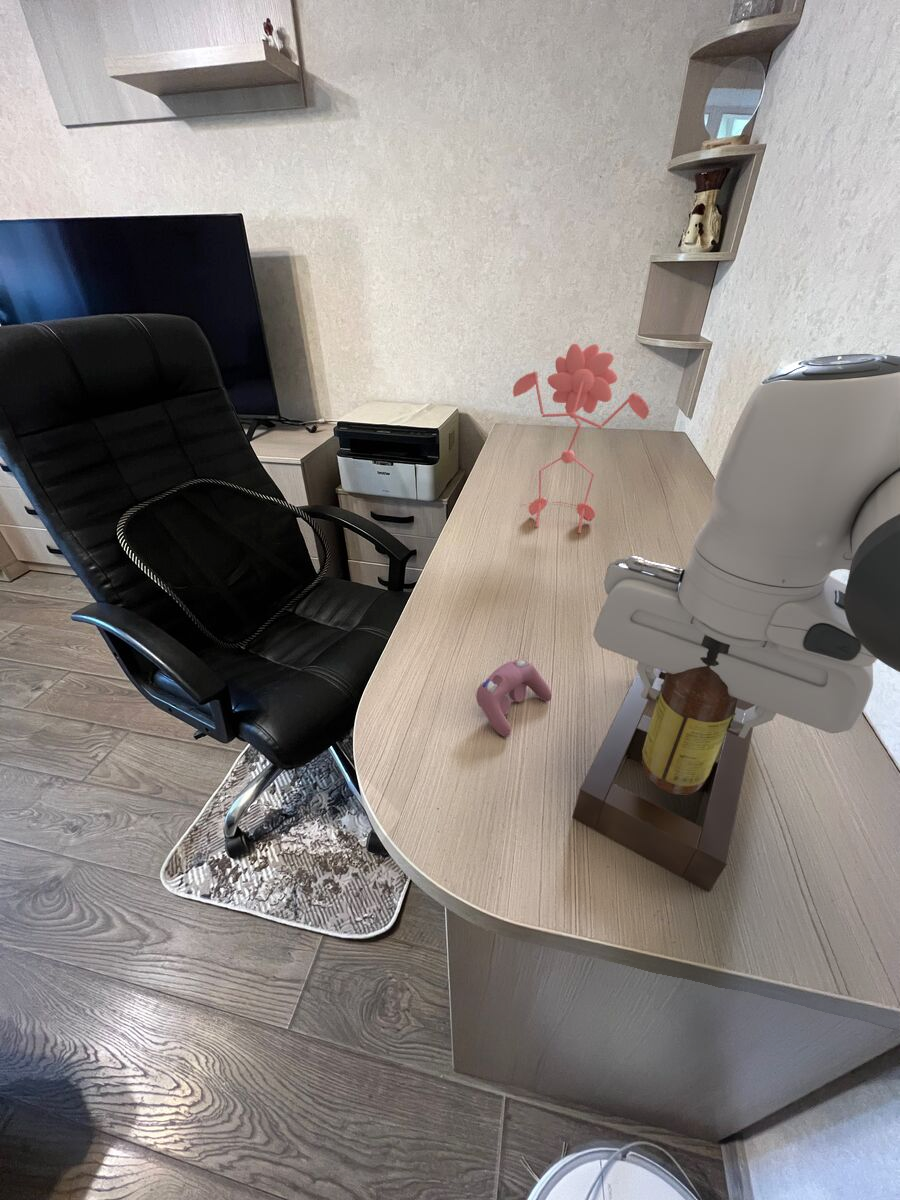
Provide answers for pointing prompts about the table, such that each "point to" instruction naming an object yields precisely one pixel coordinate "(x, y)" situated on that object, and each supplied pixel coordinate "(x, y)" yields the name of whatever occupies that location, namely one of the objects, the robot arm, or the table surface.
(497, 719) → the video game controller
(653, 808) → the hole block
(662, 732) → the sauce bottle
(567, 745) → the table surface
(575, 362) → the flower sculpture
